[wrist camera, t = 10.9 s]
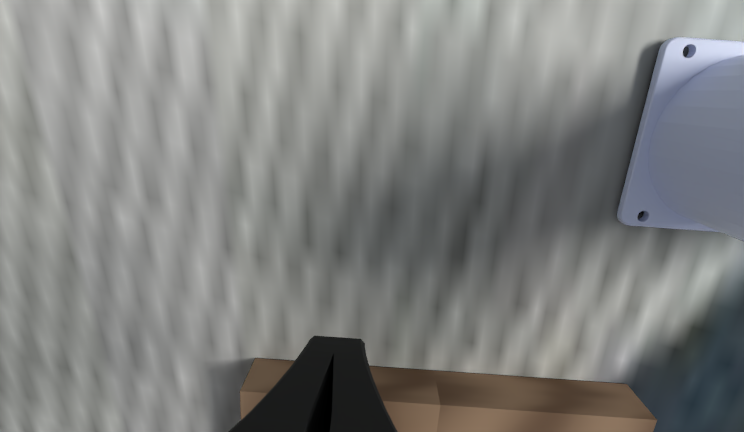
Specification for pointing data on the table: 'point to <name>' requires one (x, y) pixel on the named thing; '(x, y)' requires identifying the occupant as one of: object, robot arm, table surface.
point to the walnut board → (482, 401)
